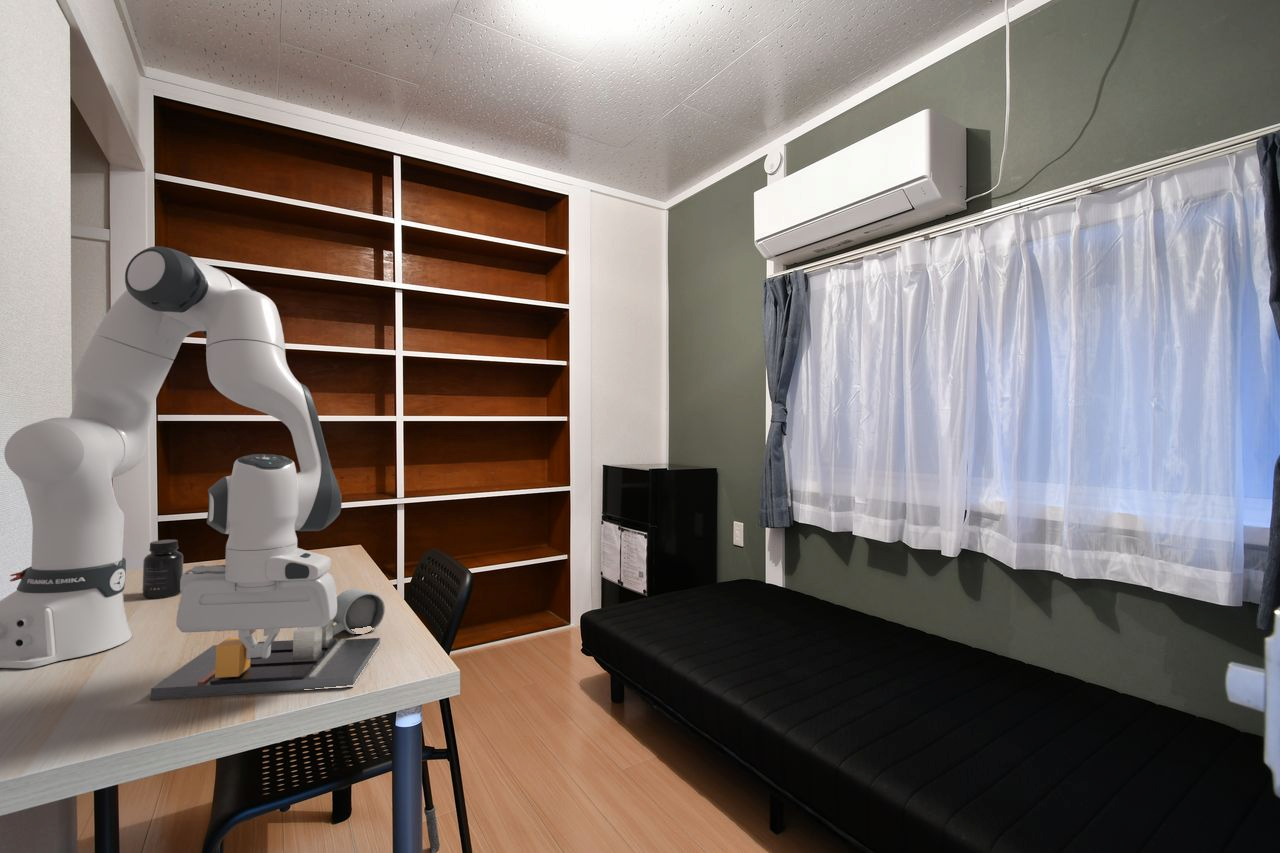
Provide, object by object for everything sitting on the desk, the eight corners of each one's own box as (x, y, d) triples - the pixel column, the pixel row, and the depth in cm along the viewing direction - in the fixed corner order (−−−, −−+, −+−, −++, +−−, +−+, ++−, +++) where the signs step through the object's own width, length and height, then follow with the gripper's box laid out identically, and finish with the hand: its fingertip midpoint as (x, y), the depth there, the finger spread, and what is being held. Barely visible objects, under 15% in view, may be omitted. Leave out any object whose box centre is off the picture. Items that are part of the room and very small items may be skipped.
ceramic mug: (366, 619, 113) (367, 581, 113) (385, 629, 107) (386, 589, 107) (309, 633, 105) (309, 592, 105) (326, 645, 99) (326, 602, 99)
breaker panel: (150, 700, 77) (152, 653, 78) (212, 654, 93) (214, 615, 93) (353, 687, 83) (354, 643, 83) (379, 646, 99) (381, 610, 99)
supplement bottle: (152, 591, 127) (154, 538, 127) (188, 590, 129) (190, 538, 129) (135, 600, 120) (137, 544, 120) (173, 598, 122) (175, 543, 122)
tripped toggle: (214, 677, 80) (216, 646, 80) (227, 667, 83) (228, 637, 83) (238, 676, 80) (239, 645, 80) (250, 666, 84) (251, 636, 84)
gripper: (168, 571, 77) (164, 671, 77) (328, 567, 82) (325, 661, 82) (193, 561, 84) (190, 653, 83) (342, 558, 88) (339, 645, 88)
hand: (258, 657), depth 83 cm, fingers closed
